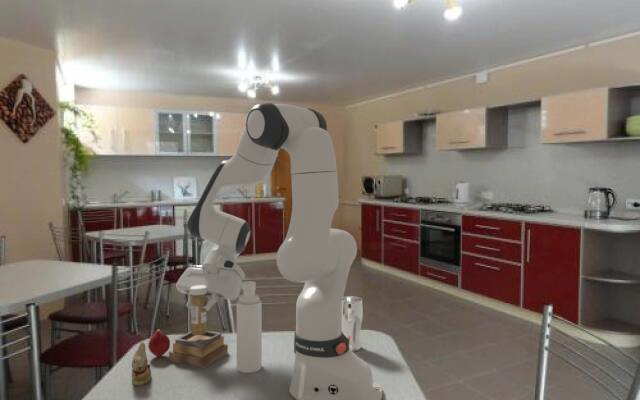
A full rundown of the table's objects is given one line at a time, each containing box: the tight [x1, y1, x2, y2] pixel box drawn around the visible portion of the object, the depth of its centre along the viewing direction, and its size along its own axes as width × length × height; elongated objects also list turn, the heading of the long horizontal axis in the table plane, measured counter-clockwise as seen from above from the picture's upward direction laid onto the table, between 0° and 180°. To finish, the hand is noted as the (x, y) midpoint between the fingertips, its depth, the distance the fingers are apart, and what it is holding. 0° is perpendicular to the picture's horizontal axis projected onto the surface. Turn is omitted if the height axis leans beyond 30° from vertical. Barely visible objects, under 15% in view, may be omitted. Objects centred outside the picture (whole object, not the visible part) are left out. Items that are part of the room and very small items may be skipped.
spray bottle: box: [236, 280, 263, 374], centre depth 120 cm, size 7×7×25 cm
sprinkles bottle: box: [190, 285, 208, 335], centre depth 127 cm, size 5×5×13 cm
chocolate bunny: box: [131, 341, 152, 387], centre depth 113 cm, size 6×8×10 cm
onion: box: [147, 329, 171, 358], centre depth 127 cm, size 6×6×8 cm
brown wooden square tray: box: [168, 330, 229, 369], centre depth 128 cm, size 12×11×6 cm
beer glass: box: [342, 295, 364, 352], centre depth 135 cm, size 7×7×15 cm
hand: (197, 308), depth 126 cm, fingers closed on sprinkles bottle, 4 cm apart
